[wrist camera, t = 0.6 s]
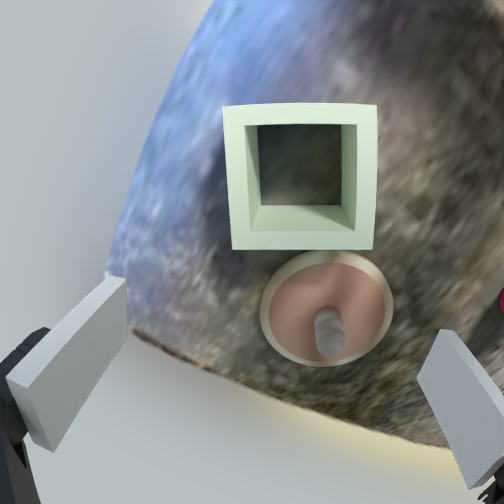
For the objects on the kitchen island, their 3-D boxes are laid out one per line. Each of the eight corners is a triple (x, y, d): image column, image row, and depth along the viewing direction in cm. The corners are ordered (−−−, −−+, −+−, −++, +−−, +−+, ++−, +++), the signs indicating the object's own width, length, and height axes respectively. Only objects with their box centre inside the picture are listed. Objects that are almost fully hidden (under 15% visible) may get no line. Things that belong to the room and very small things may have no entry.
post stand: (398, 247, 32) (421, 280, 25) (379, 357, 37) (390, 399, 31) (258, 247, 34) (248, 280, 27) (263, 358, 39) (256, 401, 33)
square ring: (356, 109, 27) (376, 105, 20) (355, 220, 31) (372, 249, 24) (240, 111, 29) (222, 106, 21) (246, 220, 33) (232, 249, 26)
